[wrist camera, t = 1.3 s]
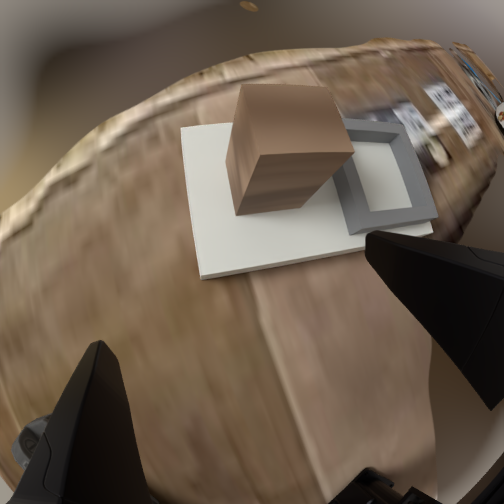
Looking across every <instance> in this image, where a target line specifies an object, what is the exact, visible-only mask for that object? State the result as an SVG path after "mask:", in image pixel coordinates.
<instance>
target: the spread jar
mask: <svg viewBox="0 0 504 504" xmlns="http://www.w3.org/2000/svg"><path fill="white" fill-rule="evenodd" d="M494 117H495V121H496V123H497V125H498V127H499V129H500V131H501V132H502V134H503V135H504V102H503V103H502V104H500V105H499V106H498V107H497V109H496V111H495V115H494Z"/></svg>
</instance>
